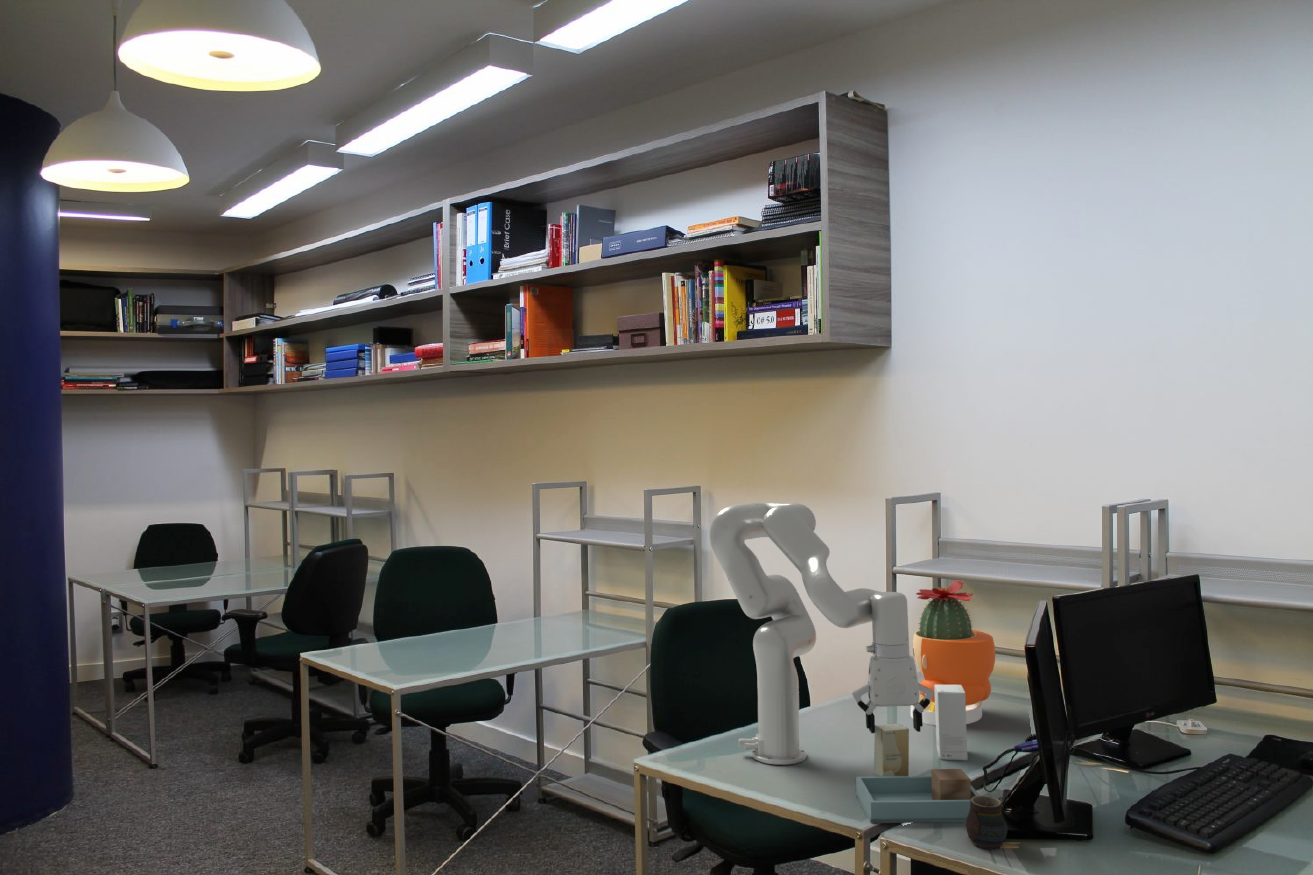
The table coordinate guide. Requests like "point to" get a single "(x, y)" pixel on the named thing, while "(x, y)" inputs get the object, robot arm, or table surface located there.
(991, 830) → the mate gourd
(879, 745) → the skincare box
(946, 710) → the skincare box
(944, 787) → the walnut block
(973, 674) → the potted cactus
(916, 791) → the teal tray
